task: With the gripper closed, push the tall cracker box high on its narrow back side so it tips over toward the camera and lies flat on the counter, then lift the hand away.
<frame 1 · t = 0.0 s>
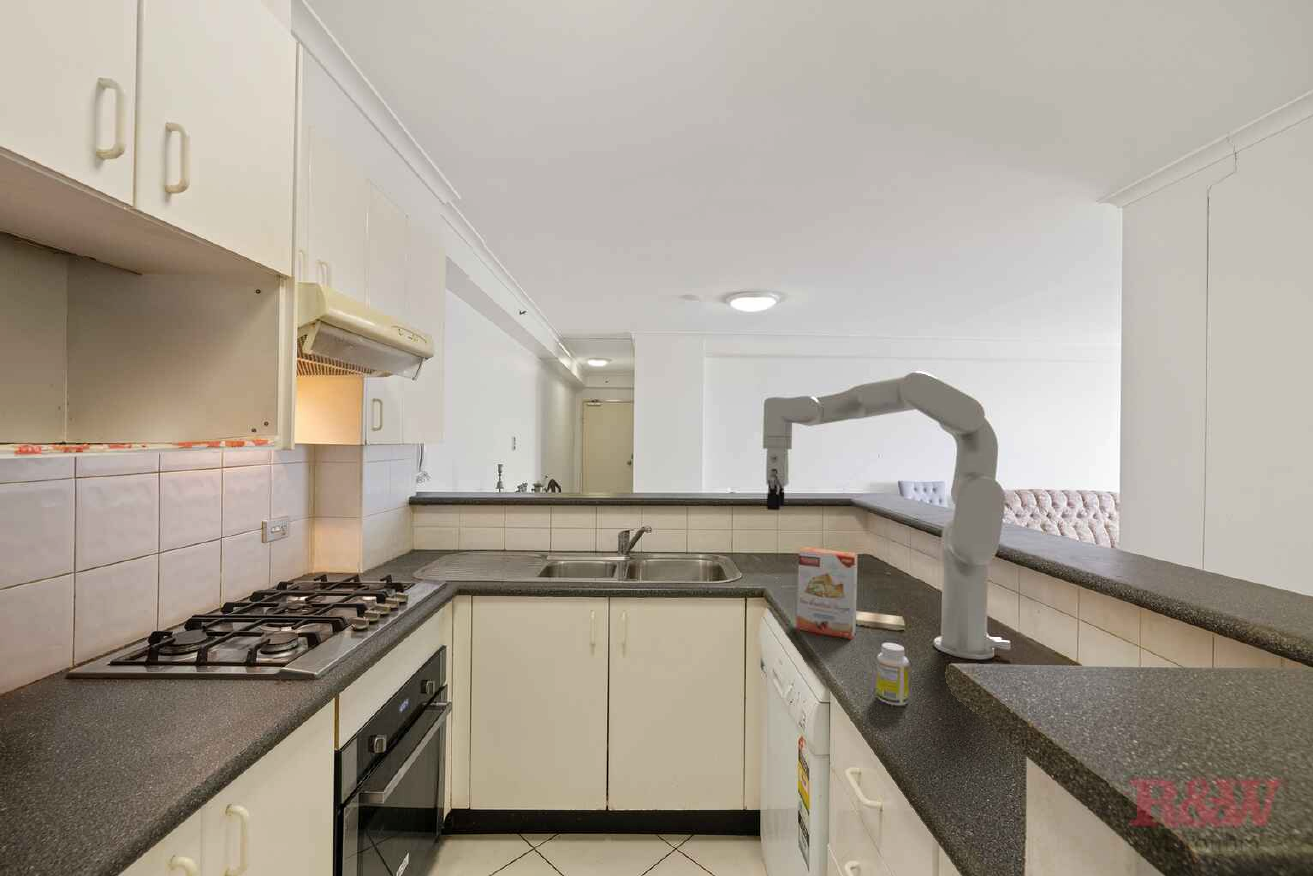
hand: (775, 507, 147), 31 cm above the table, tool pointing down, fingers open, 9 cm apart
cracker box: (825, 632, 142), on the table
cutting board: (879, 623, 150), on the table
supplement bottle: (891, 701, 105), on the table
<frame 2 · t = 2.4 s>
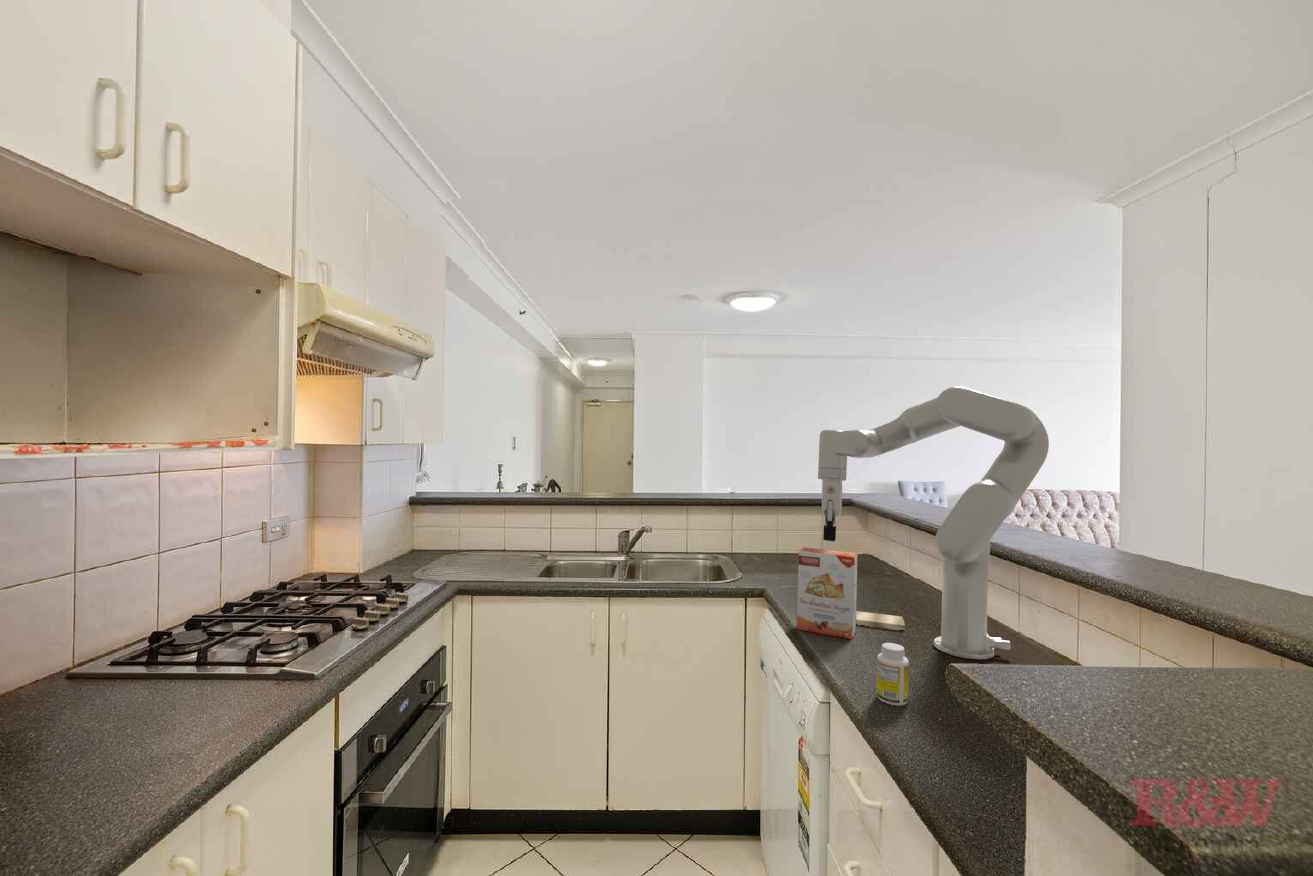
hand: (829, 540, 153), 22 cm above the table, tool pointing down, fingers closed
nothing on the table moved.
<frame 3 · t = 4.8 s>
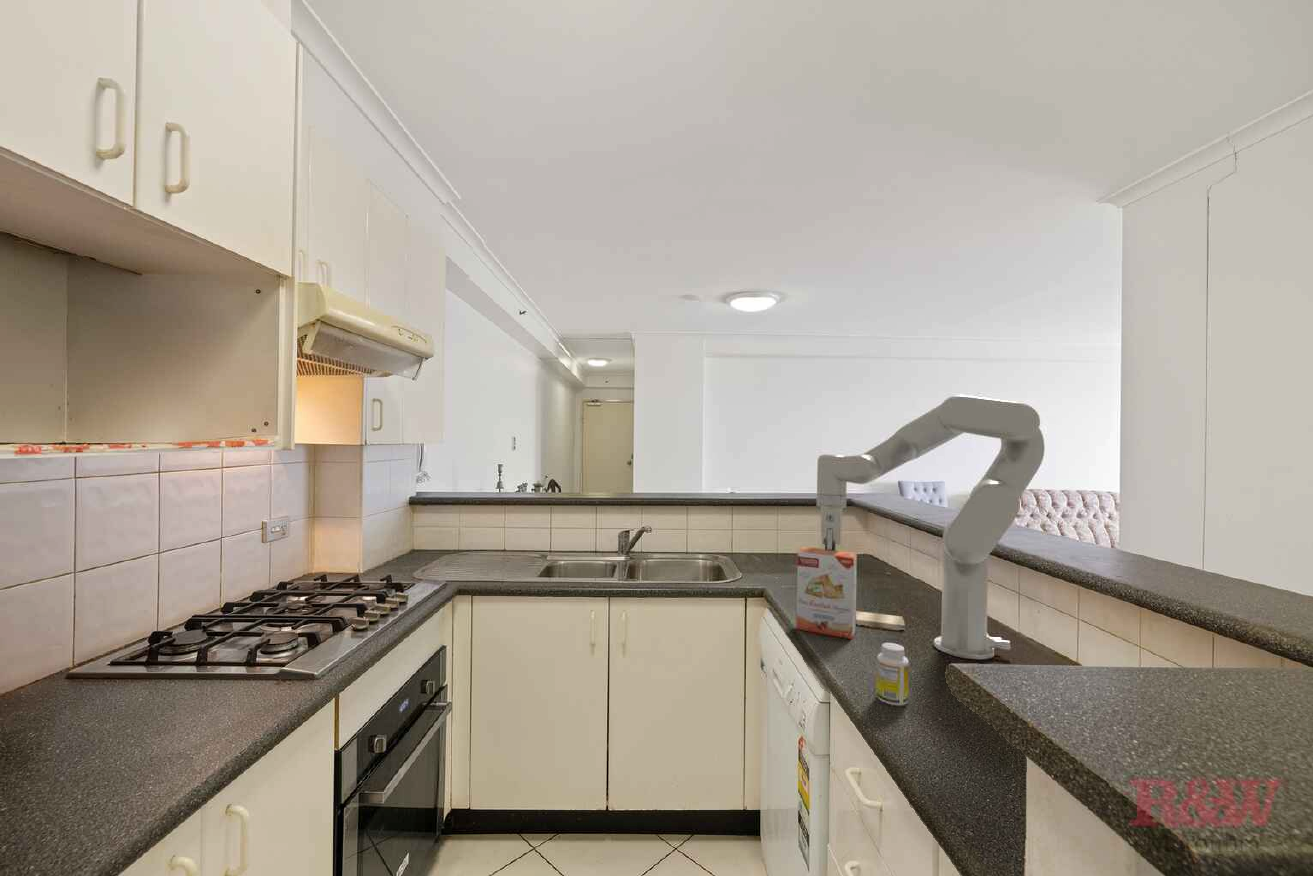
hand: (829, 569, 147), 15 cm above the table, tool pointing down, fingers closed
cracker box: (825, 632, 142), on the table, touching gripper
everything else where it was.
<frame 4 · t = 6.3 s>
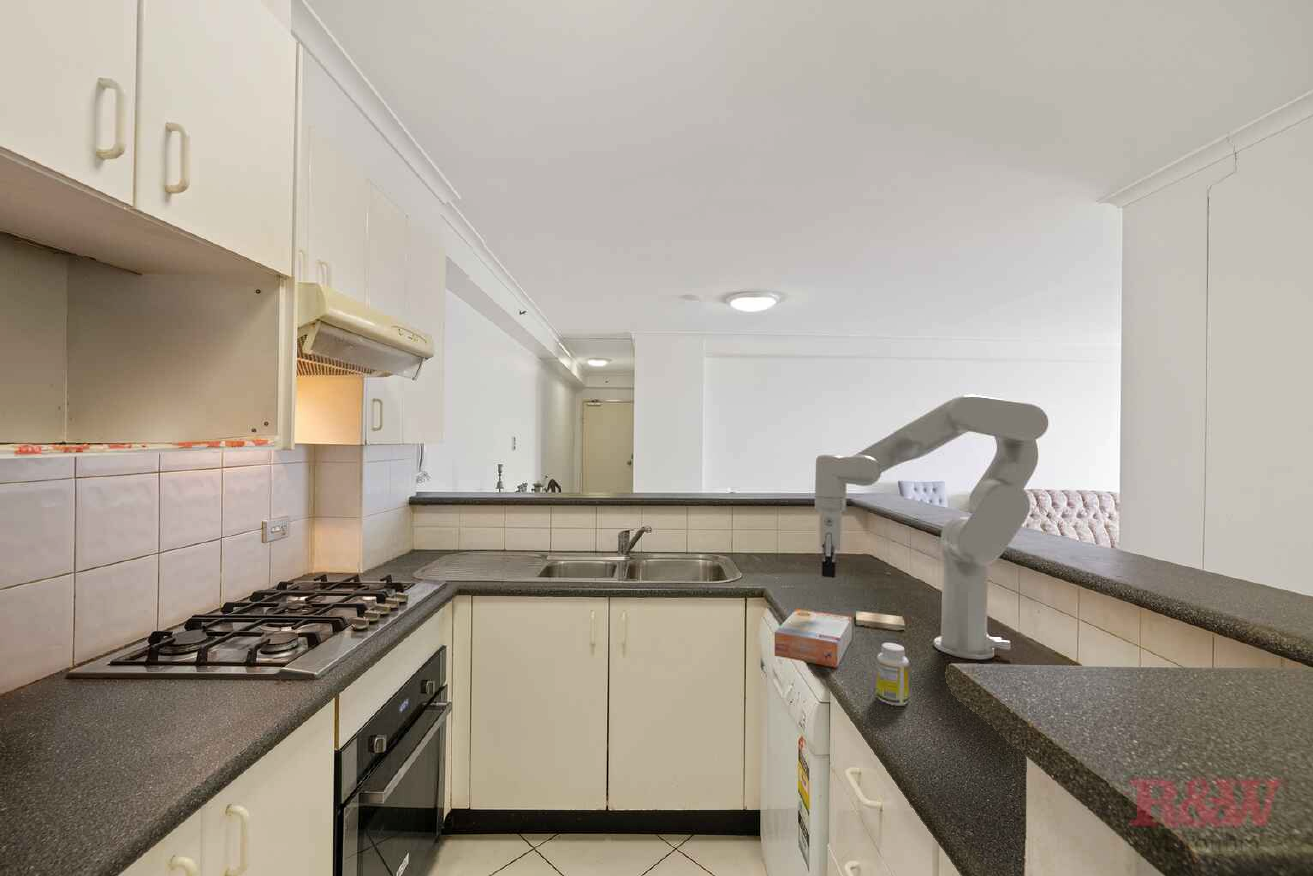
hand: (828, 576, 139), 15 cm above the table, tool pointing down, fingers closed
cracker box: (824, 623, 140), point 3 cm above the table
everything else where it was.
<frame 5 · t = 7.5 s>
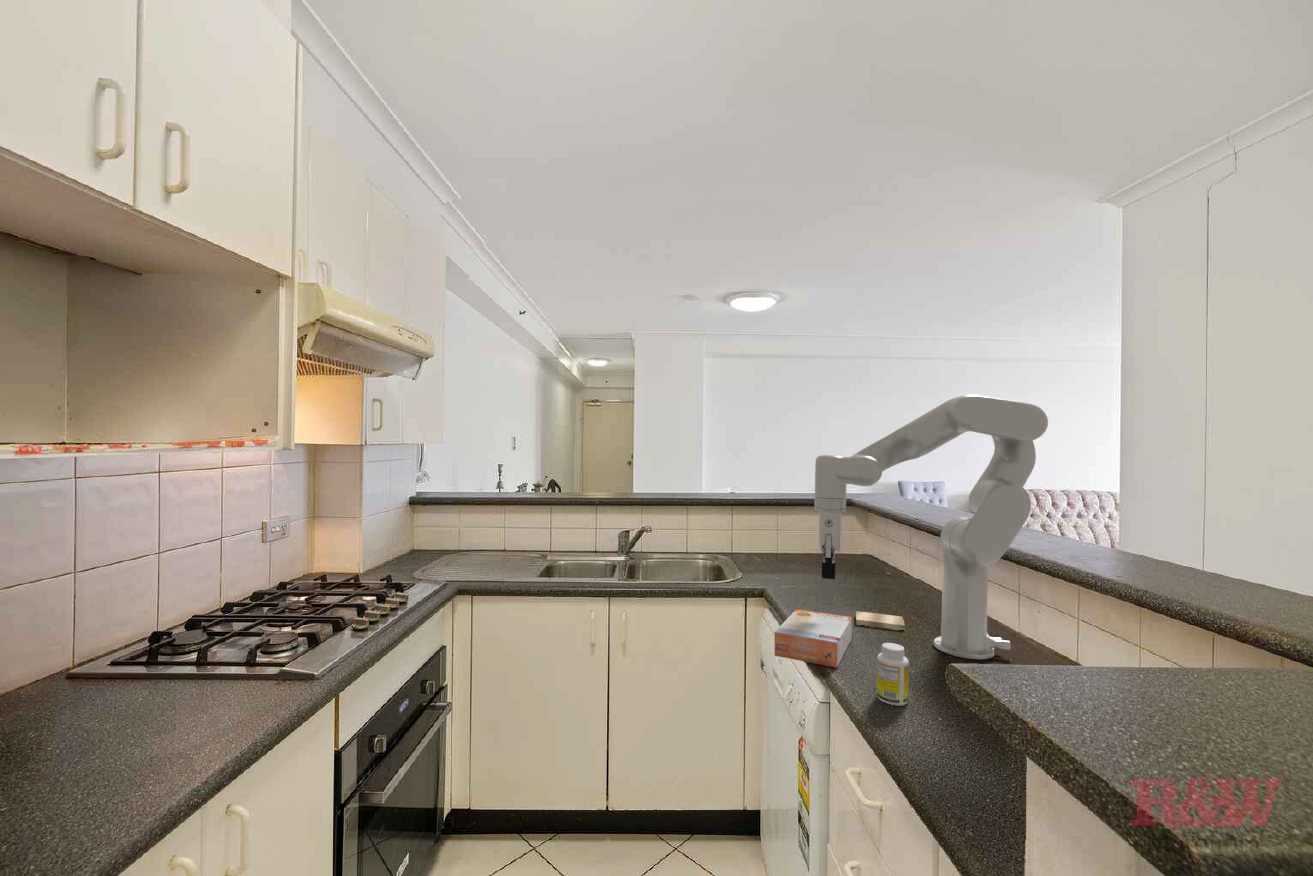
hand: (828, 577, 138), 15 cm above the table, tool pointing down, fingers closed
nothing on the table moved.
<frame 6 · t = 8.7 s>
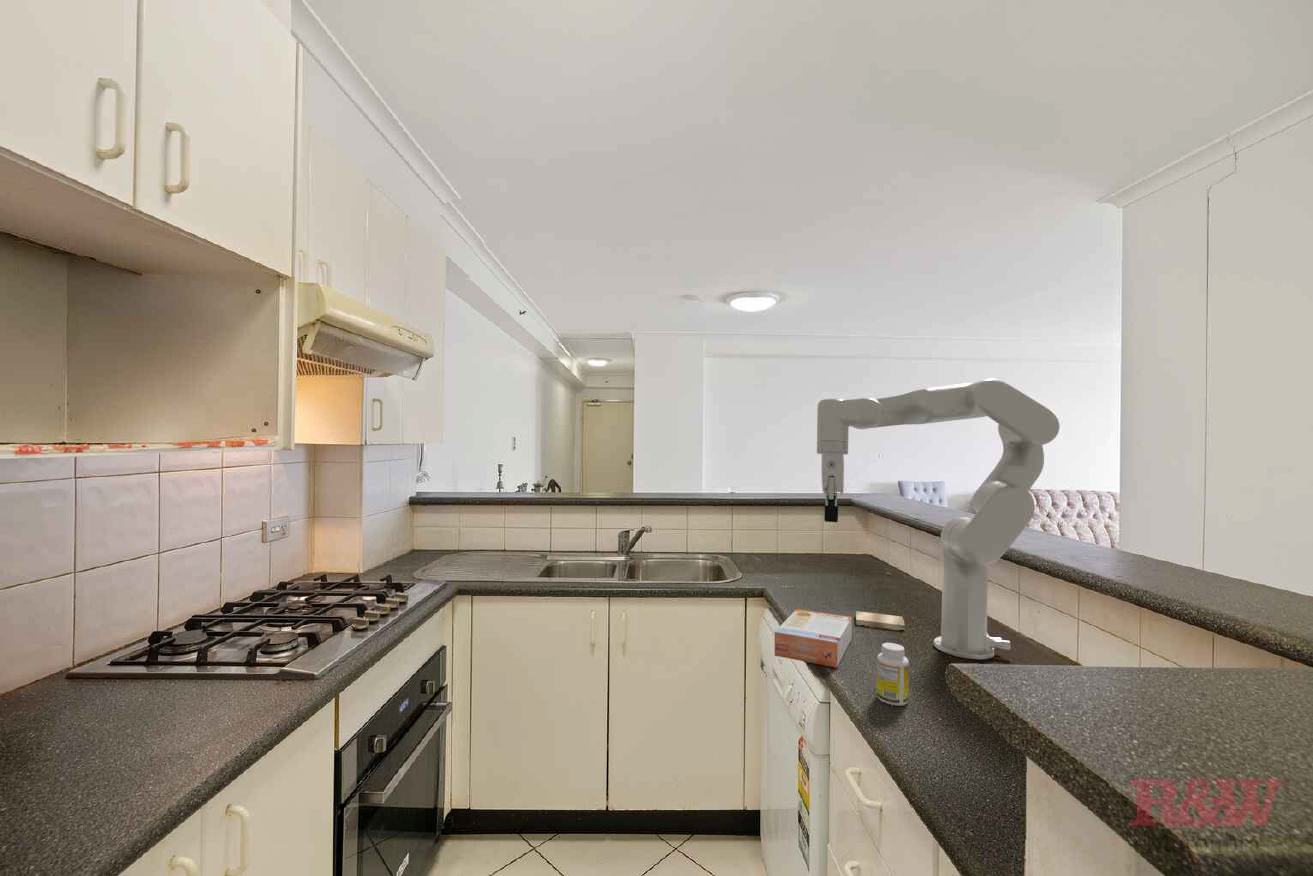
hand: (831, 521, 138), 29 cm above the table, tool pointing down, fingers closed
nothing on the table moved.
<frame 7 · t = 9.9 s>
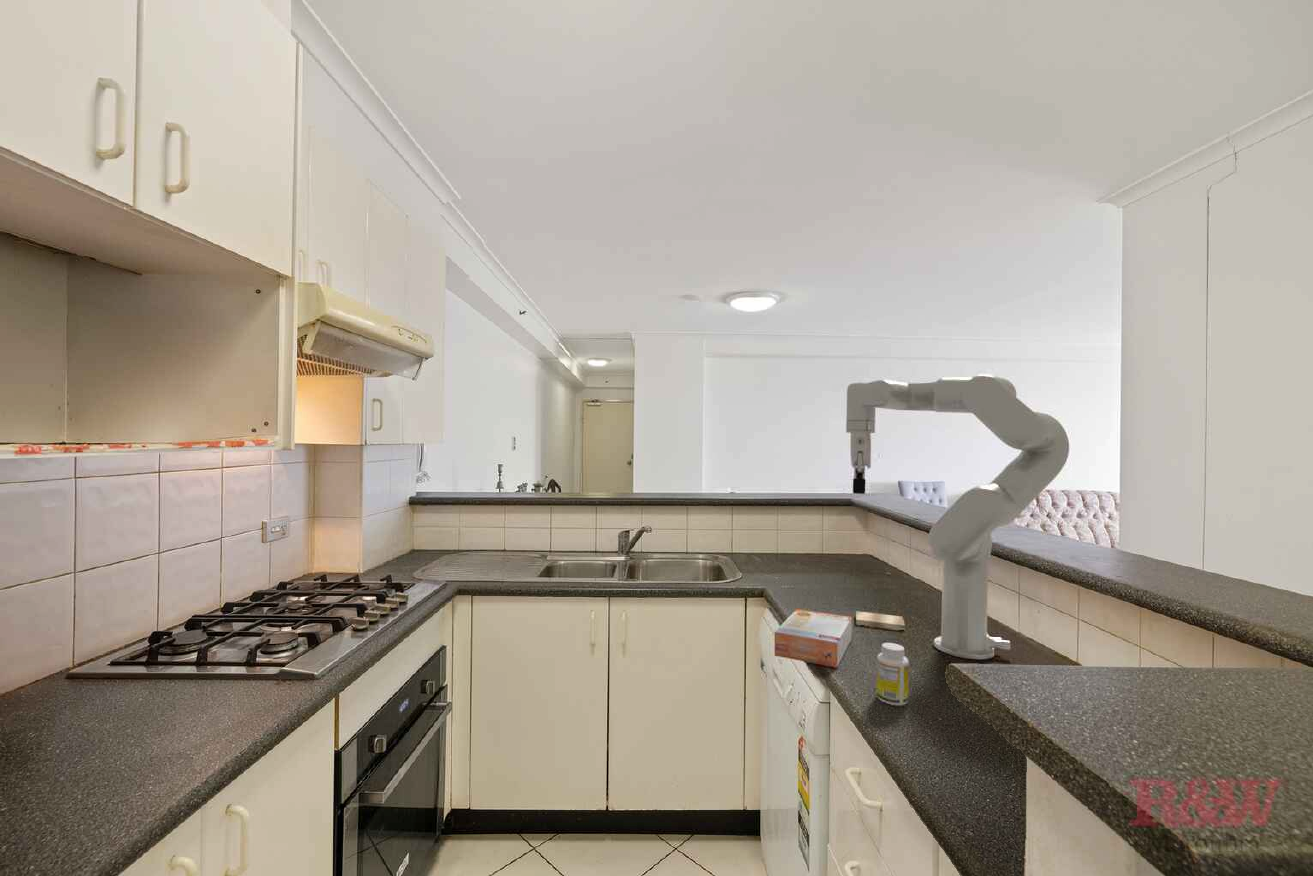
hand: (858, 493, 153), 35 cm above the table, tool pointing down, fingers closed
nothing on the table moved.
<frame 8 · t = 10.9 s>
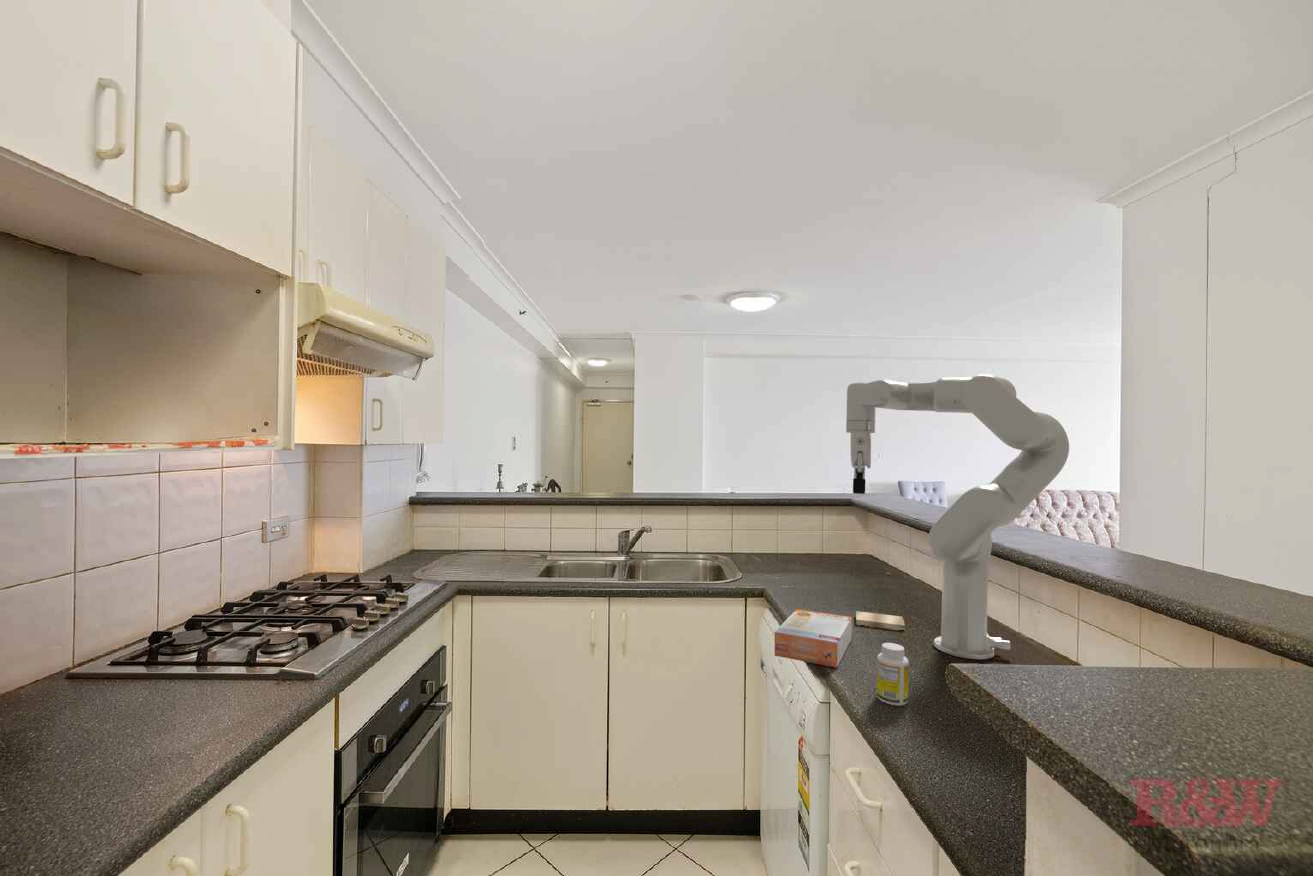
hand: (858, 493, 153), 35 cm above the table, tool pointing down, fingers closed
nothing on the table moved.
at the end: cracker box tilted 89°; cracker box inside the target area (3.6 cm from its centre), point 2.8 cm above the table; the gripper is holding nothing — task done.
